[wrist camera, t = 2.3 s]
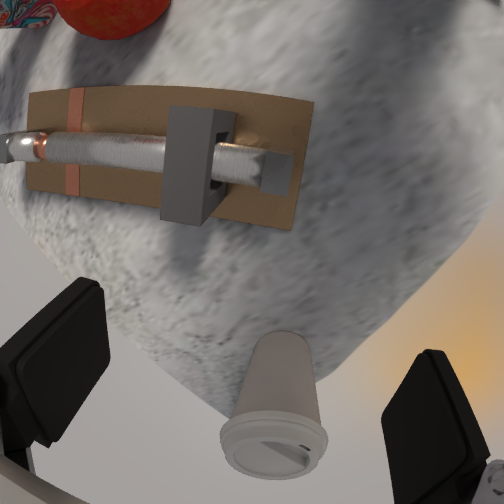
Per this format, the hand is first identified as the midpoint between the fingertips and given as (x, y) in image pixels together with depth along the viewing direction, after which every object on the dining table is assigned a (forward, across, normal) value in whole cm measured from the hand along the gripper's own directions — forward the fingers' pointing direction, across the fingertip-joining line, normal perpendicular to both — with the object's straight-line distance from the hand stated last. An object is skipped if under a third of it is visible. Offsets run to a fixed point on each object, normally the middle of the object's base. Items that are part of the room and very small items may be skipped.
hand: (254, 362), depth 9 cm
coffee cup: (+23, -4, +18) cm, 30 cm away
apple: (+23, +18, -18) cm, 34 cm away
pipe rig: (+23, +15, -2) cm, 27 cm away
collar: (+22, +7, -2) cm, 23 cm away
